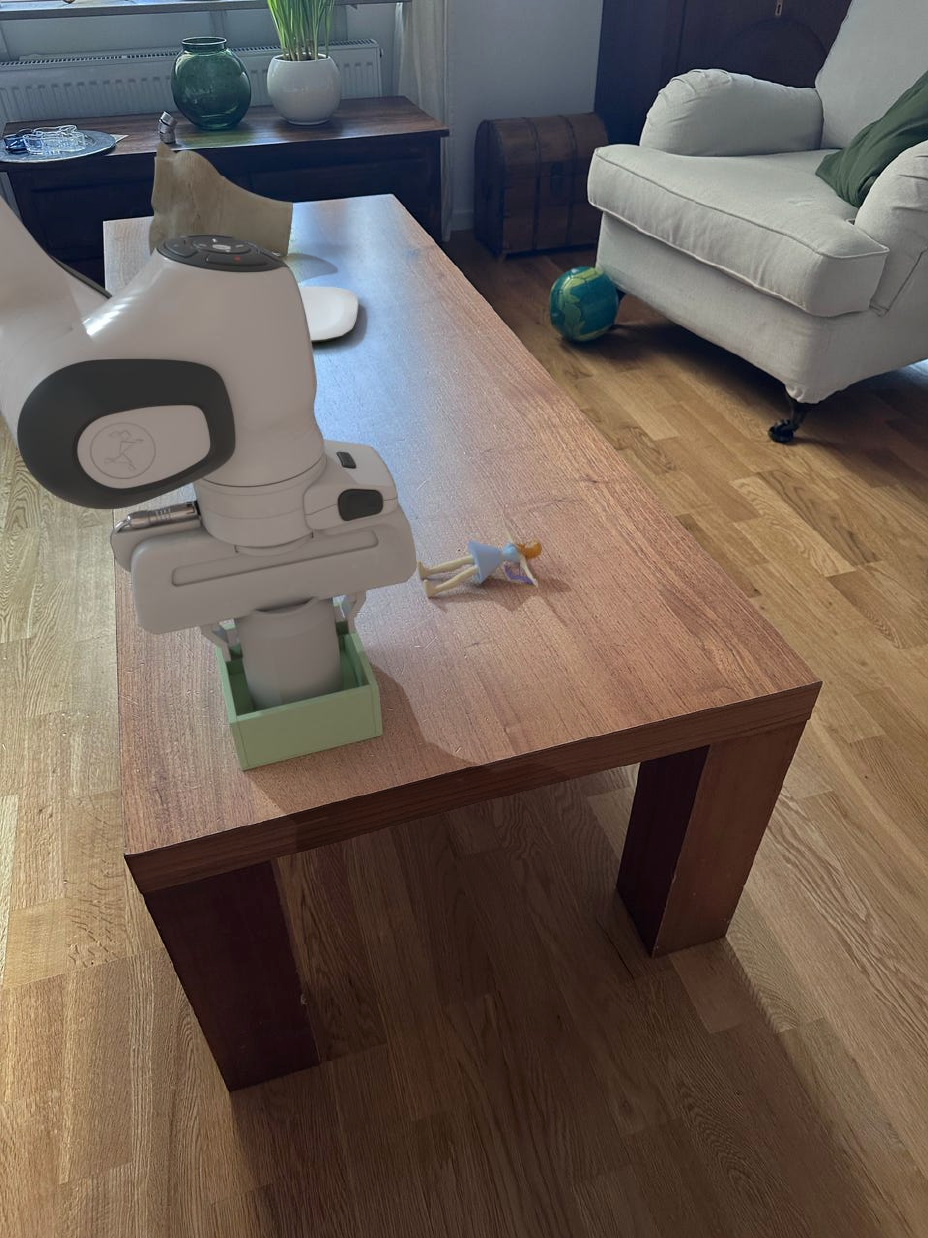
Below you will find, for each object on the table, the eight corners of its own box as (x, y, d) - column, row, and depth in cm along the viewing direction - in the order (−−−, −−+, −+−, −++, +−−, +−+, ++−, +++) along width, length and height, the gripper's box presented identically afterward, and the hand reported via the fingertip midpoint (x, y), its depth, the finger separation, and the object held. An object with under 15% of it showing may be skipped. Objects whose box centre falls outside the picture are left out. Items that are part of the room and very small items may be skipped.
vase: (317, 158, 159) (154, 121, 151) (328, 166, 141) (142, 125, 133) (303, 283, 169) (148, 255, 161) (311, 305, 151) (137, 275, 143)
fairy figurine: (405, 525, 86) (521, 496, 88) (412, 563, 90) (524, 534, 91) (432, 596, 78) (560, 562, 79) (439, 635, 81) (562, 602, 83)
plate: (227, 296, 143) (225, 286, 142) (361, 294, 143) (361, 284, 142) (202, 352, 126) (200, 340, 125) (354, 349, 127) (353, 338, 126)
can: (353, 673, 75) (340, 559, 67) (334, 738, 69) (318, 622, 62) (267, 667, 76) (244, 553, 68) (241, 731, 70) (214, 615, 62)
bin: (241, 771, 67) (229, 723, 64) (222, 675, 75) (210, 628, 72) (383, 735, 70) (379, 687, 67) (350, 646, 78) (344, 599, 75)
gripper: (104, 545, 55) (155, 702, 64) (419, 486, 60) (426, 639, 69) (100, 493, 59) (148, 646, 68) (394, 443, 64) (403, 591, 73)
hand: (290, 642), depth 68 cm, fingers closed on can, 7 cm apart
